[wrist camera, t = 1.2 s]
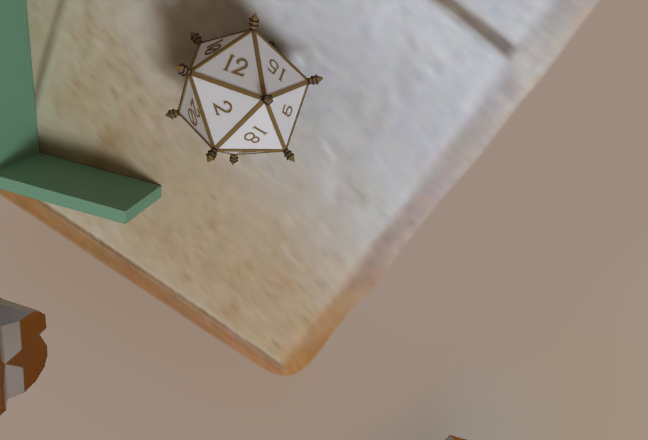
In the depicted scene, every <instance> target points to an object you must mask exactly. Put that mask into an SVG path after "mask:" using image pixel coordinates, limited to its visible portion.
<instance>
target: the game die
mask: <svg viewBox="0 0 648 440" xmlns="http://www.w3.org/2000/svg"><path fill="white" fill-rule="evenodd" d="M249 20H250V23H249V24H250V29H248V30H245V31H241V32H237V33H233V34H230V35H226V36H222V37H219V38H215V39H211V40H207V41H204V42H202V41H201V37H199V34H196V33H193V32H191V40H193V42H194V43H195V44H198V46H197V49H196V51H195V54H194V57H193V59H192V62H191V64H190V67H189V68H188V67H187V66H186V65H185V66H184V65H183V64H181V65H178V66H175V67H176V68H177V70H178V74H182V75H183V76H184V75H187V76H186V80H185V84H184V88H183V92H182V96H181V100H180V104H179V108H178V110H174V109H172V110H169V111H168V113H167V114H166V115H165V116H167V117H170V118H172V119H173V118H174V117H175V118H176V117H177V116H178V115H180V116H181V117H182V118H183V119H184V120H185V121H186V122H187V123H188V124H189V125H190V126H191V127H192V128H193V129H194V131H195V132H196V133H197V134H198V135H199V136H200V137H201V138H202V139H203V140H204V141H205V142H206V143H207V144H208V145H209V146H210V147H211V150H210V151H208V153H207V154H206V156H207V161H208V162H210V161H212V160H214V159H215V157H216V155H217V152H222V153H228V154H232V155H231V156H230V161H231V163H232V165H233V164H234V163H235V162H237V161H238V160H237V158H238V157H237V155H240V154H255V153H270V152H284V155H285V156H286V158H287V160H291V161H294V154H292V151H289V150H288V145H289V142H290V139H291V136H292V133H293V130H294V127H295V124H296V121H297V118H298V115H299V112H300V109H301V106H302V103H303V100H304V97H305V94H306V91H307V88H308V85H309V84H313V85H314V84H318V83H319V82H320V81H321V80H322V79H323V78H322V77H319V76H317V75H315V76H311V77H310V78H306V77H305V76H304V75H303V74H302V73H301V72H300V71H299V70H298V69H297V68H296V67H295V66H294V65H293V64H292V63H291V62H289V61H288V60H287V59H286V58H285V57H284V56H283V55H282V54H281V53H280V52H279V51H278V50H277V49H276V48H275V46H274V43H273V41H271V42H269V41H267V40H266V39H265V38H264V37H263V36H262V35H261V34H260V33H259V32H258V31H257V30H256V28H257V27H258V23H259V19H258V17H257V15H256V13H255V14H254V15H253V16H252V17H251V18H249ZM294 162H295V161H294Z"/></svg>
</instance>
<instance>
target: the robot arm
mask: <svg viewBox="0 0 648 440" xmlns="http://www.w3.org/2000/svg"><path fill="white" fill-rule="evenodd" d="M45 329H46V318H45V314H43V313H41V312H40V311H38V310H35V309H32V308H29V307H26V306H23V305H20V304H16V303H13V302H10V301H7V300H4V299H1V298H0V415H1V414H2V413H3V412H4V411H6V407H7V401H8V399H9V398H11V397H14V396H16V395H19V394H22V393H24V392H25V391H26V390H27V389H28V388H29V387H30V386H31V385H32V384H33V383H34V382H35V381H36V380H37V378H38V377H39V375H40V373H41V372H42V370H43V368H44V367H45V363H46V358H47V345H46V343H45V342H44V340H43V339H42V338H41V336H40V334H41V333H42V332H43V331H44V330H45ZM445 440H466V439H463V438H459V437H456V436H452V435H449V436H448V437H447V438H446V439H445Z"/></svg>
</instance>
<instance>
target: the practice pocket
mask: <svg viewBox="0 0 648 440" xmlns="http://www.w3.org/2000/svg"><path fill="white" fill-rule="evenodd" d="M0 189H2V190H6V191H9V192H13V193H17V194H20V195H24V196H27V197H31V198H34V199H38V200H42V201H45V202H49V203H52V204H56V205H59V206H63V207H67V208H70V209H74V210H77V211H81V212H84V213H88V214H92V215H95V216H99V217H102V218H106V219H109V220H113V221H116V222H120V223H124V224H126V223H127V222H129V221H130V220H131V219H133V218H134V217H135V216H136V215H138V214H139V213H140V212H142V211H143V210H144V209H146V208H147V207H148V206H150V205H151V204H152V203H154V202H155V201H156V200H158V199H159V198H160V197H161V186H160V185H157V184H153V183H149V182H146V181H142V180H138V179H135V178H131V177H127V176H124V175H120V174H116V173H113V172H109V171H105V170H102V169H98V168H94V167H91V166H87V165H83V164H79V163H76V162H72V161H68V160H65V159H61V158H57V157H54V156H50V155H46V154H43V153H39V144H38V132H37V121H36V109H35V98H34V87H33V75H32V64H31V53H30V41H29V30H28V19H27V7H26V0H0Z"/></svg>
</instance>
